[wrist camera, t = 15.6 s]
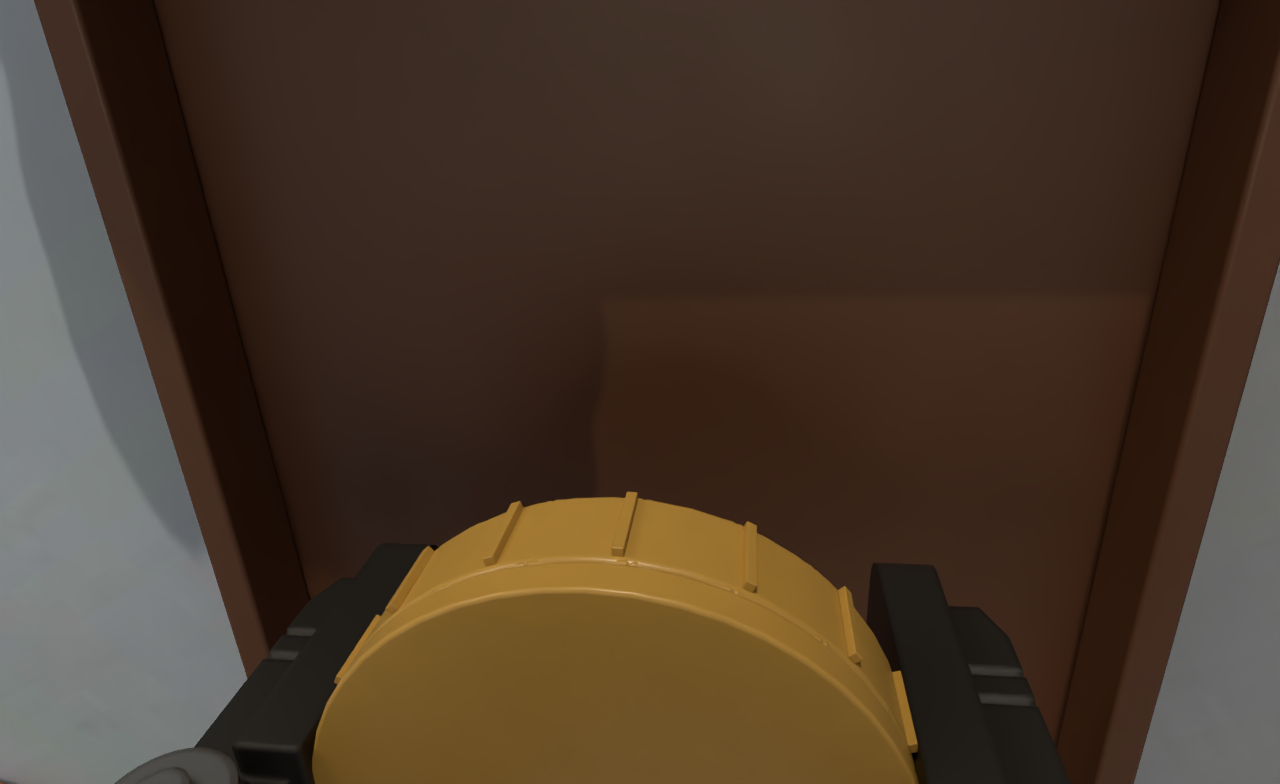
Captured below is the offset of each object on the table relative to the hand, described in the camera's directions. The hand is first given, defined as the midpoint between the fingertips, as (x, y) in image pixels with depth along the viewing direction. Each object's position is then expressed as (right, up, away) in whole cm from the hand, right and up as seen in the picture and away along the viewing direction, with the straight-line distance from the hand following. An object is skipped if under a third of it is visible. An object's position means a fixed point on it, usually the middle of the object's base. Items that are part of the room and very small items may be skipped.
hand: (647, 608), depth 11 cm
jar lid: (0, -1, -3) cm, 3 cm away
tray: (0, +2, +3) cm, 4 cm away
